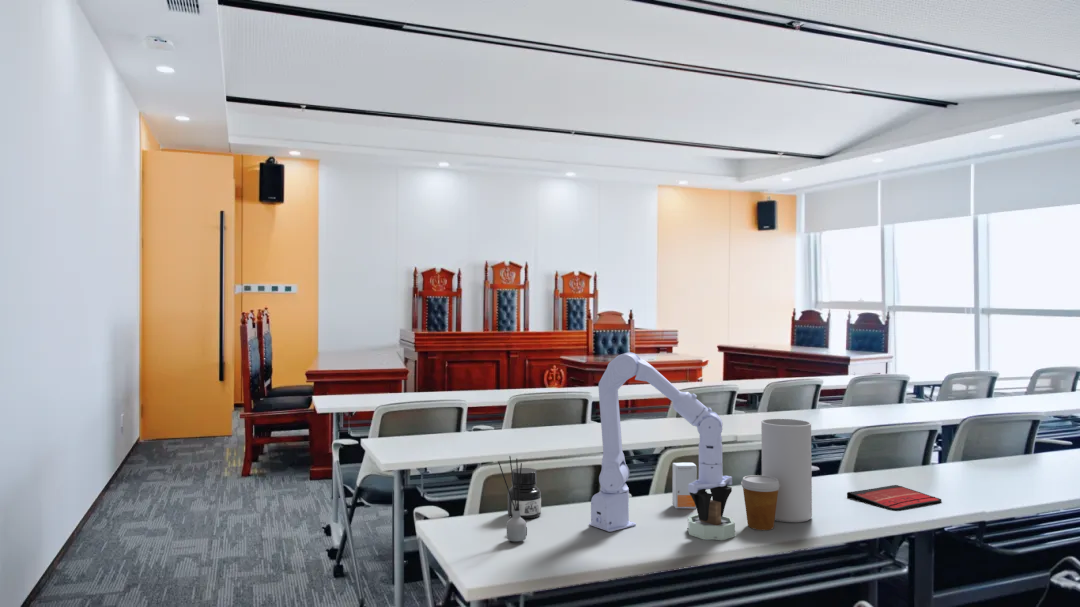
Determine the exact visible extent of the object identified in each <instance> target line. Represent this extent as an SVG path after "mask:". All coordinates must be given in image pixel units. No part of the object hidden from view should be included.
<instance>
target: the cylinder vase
mask: <svg viewBox="0 0 1080 607" xmlns="http://www.w3.org/2000/svg"><path fill="white" fill-rule="evenodd" d="M812 464H813V463H812V422H810V421H807V420H803V419H793V418H766V419H762V420H761V475H762V476H770V477H774V478H776V479H778V482H779V484H780V487H779V490H778V496H777V504H776V513H775V521H776V522H780V523H781V522H782V523H783V522H784V523H802V522H803V523H805V522H807V521H809V520H811V519H812V517H813V505H812V504H813V495H812V494H813V492H812V488H813V486H812V485H813V484H812V480H813V479H812V478H813V477H812V475H813V474H812V473H813V472H812V468H813V467H812Z"/></svg>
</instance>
